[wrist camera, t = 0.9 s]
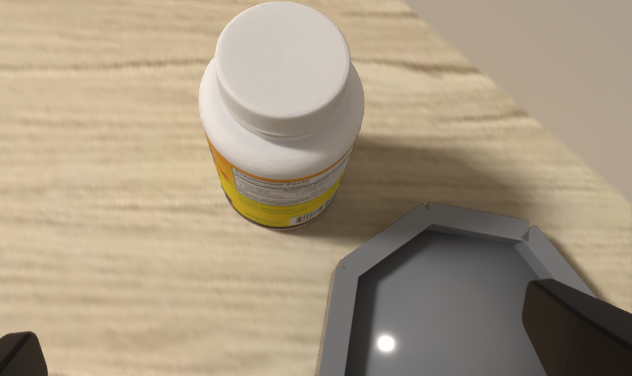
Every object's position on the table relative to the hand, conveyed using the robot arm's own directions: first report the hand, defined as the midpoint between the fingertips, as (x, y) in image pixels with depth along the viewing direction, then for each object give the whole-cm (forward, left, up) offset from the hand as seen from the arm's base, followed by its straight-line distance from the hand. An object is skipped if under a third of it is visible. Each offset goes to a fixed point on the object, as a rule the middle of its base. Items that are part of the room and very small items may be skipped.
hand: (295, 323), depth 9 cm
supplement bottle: (+6, -4, -13) cm, 15 cm away
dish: (-5, -6, -13) cm, 15 cm away
